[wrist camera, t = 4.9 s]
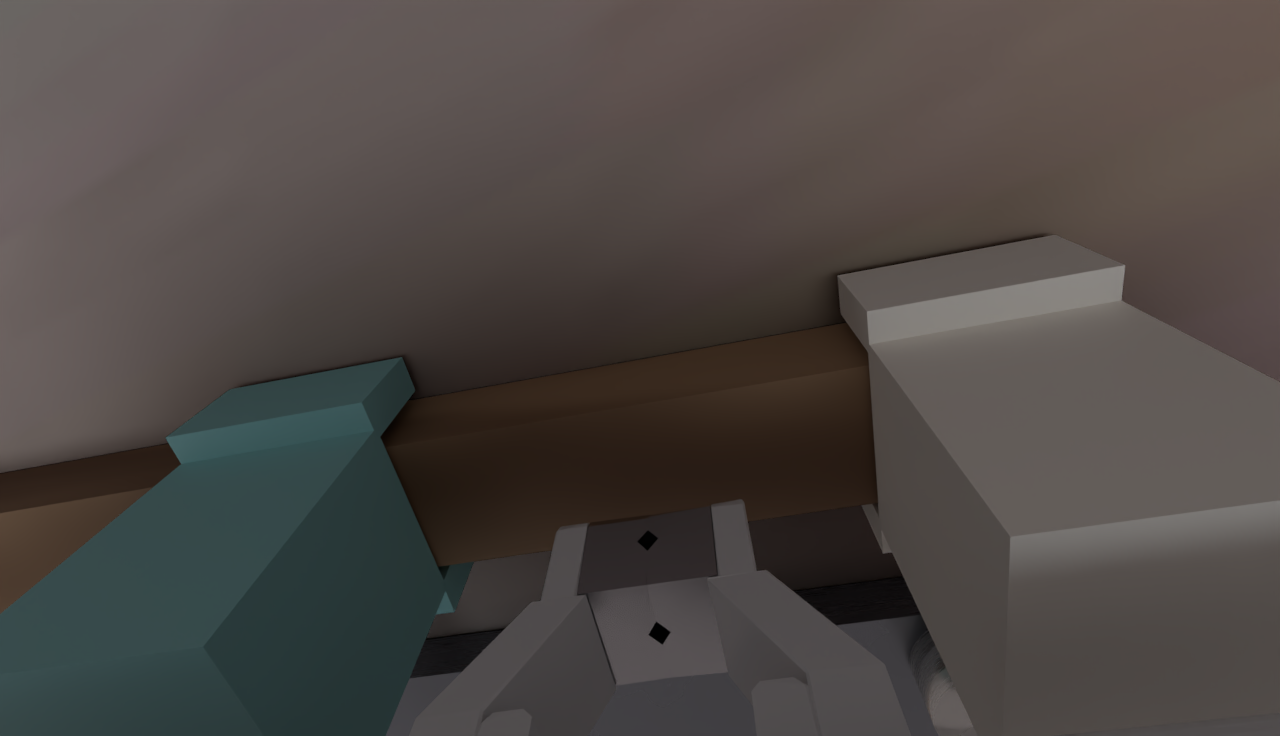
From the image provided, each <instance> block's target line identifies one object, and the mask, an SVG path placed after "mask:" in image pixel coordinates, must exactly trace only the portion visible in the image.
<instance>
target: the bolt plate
mask: <svg viewBox="0 0 1280 736" xmlns="http://www.w3.org/2000/svg"><path fill="white" fill-rule="evenodd" d="M794 592H795V593H796V594H797V595H799V596H800V597H801V598H802V599H804V600H805V601H806V602H807V603H809V604H810V605H811V606H812V607H814V608H815V609H816V610H817V611H819V612H820V613H821V614H822V615H824V616H825V617H826V618H827V619H829V620H830V621H831V622H832V623H834V624H835V625H836V626H837V627H839V628H840V629H841V630H842V631H844V632H845V633H846V634H847V635H849V636H850V637H851V638H853V639H854V640H855V641H856V642H858V643H859V644H860V645H861V646H863V647H864V648H865V649H866V650H868V651H869V652H870V653H871V654H873V655H874V656H875V657H876V658H878V659H879V660H880V661H881V662H883V663H884V664H885V666H886V669H887V672H888V674H889V677H890V680H891V682H892V685H893V688H894V691H895V693H896V696H897V699H898V701H899V704H900V707H901V709H902V712H903V715H904V718H905V720H906V723H907V726H908V728H909V731H910V734H911V736H978V735H977V733H976V731H975V729H974V727H973V725H972V722H971V720H970V718H969V716H968V714H967V712H966V710H965V708H964V705H963V703H962V701H961V699H960V697H959V695H958V693H957V690H956V688H955V686H954V684H953V682H952V680H951V678H950V675H949V673H948V671H947V669H946V667H945V665H944V663H943V660H942V658H941V656H940V654H939V652H938V650H937V648H936V646H935V643H934V641H933V639H932V637H931V635H930V633H929V631H928V628H927V626H926V624H925V622H924V620H923V618H922V616H921V613H920V611H919V609H918V607H917V605H916V603H915V601H914V599H913V596H912V594H911V592H910V590H909V588H908V586H907V584H906V581H905V579H904V577H900V578H893V579H885V580H878V581H870V582H862V583H855V584H847V585H839V586H832V587H824V588H817V589H809V590H801V591H794ZM502 631H503V630H497V631H490V632H482V633H474V634H467V635H459V636H452V637H444V638H436V639H429V640H425V642H424V644H423V647H422V649H421V652H420V654H419V656H418V659H417V661H416V664H415V666H414V668H413V671H412V673H411V676H410V678H409V681H408V683H407V685H406V688H405V690H404V693H403V695H402V697H401V700H400V702H399V705H398V707H397V710H396V712H395V714H394V717H393V719H392V722H391V724H390V726H389V729H388V731H387V734H386V736H409V734H410V732H411V729H412V727H413V724H414V721H415V719H416V718H417V717H418V716H419V715H420V714H421V713H422V712H423V711H424V710H425V708H426V707H427V706H428V705H429V704H430V703H431V702H432V701H433V700H434V699H435V698H436V697H437V696H438V695H439V694H440V693H441V692H442V691H443V690H444V689H445V688H446V687H447V686H448V685H449V684H450V683H451V682H452V681H453V680H454V679H455V678H456V677H457V676H458V675H459V674H460V673H461V672H462V671H463V670H464V669H465V668H466V667H467V666H468V665H469V664H470V663H471V662H472V661H473V660H474V659H475V658H476V657H477V656H478V655H479V654H480V653H481V652H482V651H483V650H484V649H485V648H486V647H487V646H488V645H489V644H490V643H491V642H492V641H493V640H494V639H495V638H496V637H497V636H498V635H499V634H500V633H501V632H502ZM588 736H757V734H756V726H755V718H754V710H753V705H752V704H751V703H750V702H749V700H748V699H747V698H746V696H745V695H744V694H743V693H742V691H741V690H740V689H739V688H738V686H737V685H736V684H735V683H734V681H733V680H732V679H731V678H730V676H729V675H728V672H726V673H715V674H704V675H693V676H682V677H671V678H664V679H657V680H651V681H644V682H637V683H631V684H624V685H617V686H616V691H615V692H614V694H613V696H612V697H611V699H610V701H609V702H608V704H607V705H606V707H605V709H604V710H603V712H602V714H601V715H600V717H599V719H598V720H597V722H596V724H595V725H594V727H593V728H592V730H591V732H590V733H589V735H588Z"/></svg>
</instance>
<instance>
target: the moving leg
mask: <svg viewBox="0 0 1280 736" xmlns="http://www.w3.org/2000/svg"><path fill="white" fill-rule="evenodd" d="M414 392H415V388H414V386H413V383H412V381H411V378H410V376H409V373H408V371H407V368H406V366H405V363H404V361H403V358H402V357H400V358H395V359H389V360H384V361H379V362H373V363H368V364H363V365H357V366H352V367H347V368H341V369H336V370H331V371H325V372H320V373H315V374H309V375H304V376H299V377H293V378H288V379H283V380H277V381H272V382H267V383H261V384H256V385H251V386H245V387H240V388H235V389H230V390H228V391H227V392H226V393H224V394H223V395H222V396H220V397H219V398H218V399H216V400H215V401H214V402H212V403H211V404H210V405H208V406H207V407H206V408H204V409H203V410H202V411H200V412H199V413H198V414H196V415H195V416H194V417H192V418H191V419H190V420H188V421H187V422H186V423H184V424H183V425H182V426H180V427H179V428H178V429H176V430H175V431H174V432H172V433H171V434H170V435H168V436H167V437H166V440H167V441H168V443H169V445H170V446H171V448H172V450H173V451H174V453H175V455H176V456H177V458H178V460H179V461H180V463H181V465H179V466H178V467H177V468H176V469H175V470H173V471H172V472H171V473H170V474H168V475H167V476H166V477H165V478H164V479H162V480H161V481H160V482H159V483H158V484H156V485H155V486H154V487H153V488H152V489H150V490H149V491H148V492H147V493H146V494H144V495H143V496H142V497H141V498H140V499H138V500H137V501H136V502H135V503H133V504H132V505H131V506H130V507H129V508H127V509H126V510H125V511H124V512H123V513H121V514H120V515H119V516H118V517H117V518H115V519H114V520H113V521H112V522H111V523H109V524H108V525H107V526H106V527H105V528H103V529H102V530H101V531H100V532H98V533H97V534H96V535H95V536H94V537H92V538H91V539H90V540H89V541H88V542H86V543H85V544H84V545H83V546H82V547H80V548H79V549H78V550H77V551H76V552H74V553H73V554H72V555H71V556H70V557H68V558H67V559H66V560H65V561H64V562H62V563H61V564H60V565H59V566H57V567H56V568H55V569H54V570H53V571H51V572H50V573H49V574H48V575H47V576H45V577H44V578H43V579H42V580H41V581H39V582H38V583H37V584H36V585H35V586H33V587H32V588H31V589H30V590H29V591H27V592H26V593H25V594H24V595H22V596H21V597H20V598H19V599H18V600H16V601H15V602H14V603H13V604H12V605H10V606H9V607H8V608H7V609H6V610H4V611H3V612H2V613H1V614H0V736H386V734H387V731H388V729H389V726H390V724H391V722H392V719H393V717H394V714H395V712H396V710H397V707H398V705H399V702H400V700H401V697H402V695H403V693H404V690H405V688H406V685H407V683H408V681H409V678H410V676H411V673H412V671H413V668H414V666H415V664H416V661H417V659H418V656H419V654H420V652H421V649H422V647H423V644H424V642H425V639H426V637H427V635H428V632H429V630H430V627H431V625H432V623H433V620H434V618H435V615H436V614H443V613H451V612H455V610H456V607H457V605H458V602H459V599H460V597H461V594H462V592H463V589H464V586H465V584H466V581H467V578H468V576H469V573H470V571H471V568H472V565H473V563H474V562H468V563H461V564H454V565H447V566H440V567H438V566H437V564H436V562H435V560H434V557H433V555H432V553H431V551H430V548H429V546H428V544H427V541H426V539H425V537H424V535H423V532H422V530H421V528H420V526H419V523H418V521H417V519H416V517H415V514H414V512H413V510H412V507H411V505H410V503H409V501H408V498H407V496H406V494H405V492H404V489H403V487H402V485H401V483H400V480H399V478H398V476H397V474H396V471H395V469H394V467H393V464H392V462H391V460H390V458H389V455H388V453H387V451H386V449H385V446H384V444H383V442H382V440H381V437H380V436H381V435H382V434H383V432H384V431H385V430H386V428H387V427H388V426H389V425H390V423H391V422H392V421H393V419H394V418H395V417H396V415H397V414H398V413H399V411H400V410H401V409H402V407H403V406H404V405H405V404H406V402H407V401H408V400H409V398H410V397H411V396H412V394H413V393H414Z"/></svg>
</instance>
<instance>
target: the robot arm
mask: <svg viewBox="0 0 1280 736" xmlns="http://www.w3.org/2000/svg"><path fill="white" fill-rule="evenodd" d="M726 672H728V675H729V676H730V678H731V679H732V680H733V681H734V683H735V684H736V685H737V686H738V688H739V689H740V690H741V691H742V693H743V694H744V695H745V696H746V698H747V699H748V700H749V702H750V703H751V704H752V705H753V710H754V718H755V726H756V734H757V736H911V734H910V731H909V728H908V726H907V723H906V720H905V718H904V715H903V712H902V709H901V707H900V704H899V701H898V699H897V696H896V693H895V691H894V688H893V685H892V682H891V680H890V677H889V674H888V672H887V669H886V666H885V664H884V663H883V662H881V661H880V660H879V659H878V658H876V657H875V656H874V655H873V654H871V653H870V652H869V651H868V650H866V649H865V648H864V647H863V646H861V645H860V644H859V643H858V642H856V641H855V640H854V639H853V638H851V637H850V636H849V635H847V634H846V633H845V632H844V631H842V630H841V629H840V628H839V627H837V626H836V625H835V624H834V623H832V622H831V621H830V620H829V619H827V618H826V617H825V616H824V615H822V614H821V613H820V612H819V611H817V610H816V609H815V608H814V607H812V606H811V605H810V604H809V603H807V602H806V601H805V600H804V599H802V598H801V597H800V596H799V595H797V594H796V593H795V592H794V591H792V590H791V589H790V588H789V587H787V586H786V585H785V584H784V583H782V582H781V581H780V580H779V579H777V578H776V577H775V576H774V575H772V574H771V573H770V572H769V571H767V570H761V571H757V569H756V563H755V558H754V553H753V547H752V542H751V536H750V531H749V526H748V520H747V515H746V510H745V504H744V502H743V500H742V499H739V500H734V501H728V502H723V503H717V504H712V505H711V506H706V507H700V508H693V509H687V510H680V511H674V512H667V513H661V514H654V515H644V516H636V517H628V518H620V519H612V520H605V521H597V522H591V523H583V524H576V525H569V526H562V527H560V528H559V529H558V531H557V532H556V535H555V539H554V543H553V548H552V552H551V556H550V561H549V565H548V569H547V574H546V578H545V582H544V587H543V591H542V595H541V599H540V601H536V602H531V603H530V604H529V605H528V606H527V607H526V608H525V609H524V610H523V611H522V612H521V613H520V614H519V615H518V616H517V617H516V618H515V619H514V620H513V621H512V622H511V623H510V624H509V625H508V626H507V627H506V628H505V629H504V630H503V631H502V632H501V633H500V634H499V635H498V636H497V637H496V638H495V639H494V640H493V641H492V642H491V643H490V644H489V645H488V646H487V647H486V648H485V649H484V650H483V651H482V652H481V653H480V654H479V655H478V656H477V657H476V658H475V659H474V660H473V661H472V662H471V663H470V664H469V665H468V666H467V667H466V668H465V669H464V670H463V671H462V672H461V673H460V674H459V675H458V676H457V677H456V678H455V679H454V680H453V681H452V682H451V683H450V684H449V685H448V686H447V687H446V688H445V689H444V690H443V691H442V692H441V693H440V694H439V695H438V696H437V697H436V698H435V699H434V700H433V701H432V702H431V703H430V704H429V705H428V706H427V707H426V708H425V710H424V711H423V712H422V713H421V714H420V715H419V716H418V717H417V718H416V719H415V721H414V724H413V727H412V729H411V732H410V734H409V736H588V735H589V733H590V732H591V730H592V728H593V727H594V725H595V724H596V722H597V720H598V719H599V717H600V715H601V714H602V712H603V710H604V709H605V707H606V705H607V704H608V702H609V701H610V699H611V697H612V696H613V694H614V692H615V691H616V686H617V685H624V684H631V683H637V682H644V681H651V680H657V679H664V678H671V677H682V676H693V675H704V674H715V673H726ZM1055 736H1280V713H1270V714H1260V715H1251V716H1241V717H1231V718H1221V719H1212V720H1202V721H1192V722H1182V723H1172V724H1163V725H1153V726H1143V727H1133V728H1124V729H1114V730H1104V731H1094V732H1084V733H1075V734H1065V735H1055Z"/></svg>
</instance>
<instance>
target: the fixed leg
mask: <svg viewBox="0 0 1280 736" xmlns="http://www.w3.org/2000/svg"><path fill="white" fill-rule="evenodd" d="M1124 272H1125V265H1124V264H1122V263H1119V262H1117V261H1115V260H1113V259H1110V258H1108V257H1106V256H1103V255H1101V254H1099V253H1096V252H1094V251H1092V250H1090V249H1087V248H1085V247H1083V246H1080V245H1078V244H1076V243H1073V242H1071V241H1069V240H1067V239H1064V238H1062V237H1060V236H1057V235H1051V236H1046V237H1041V238H1035V239H1030V240H1024V241H1019V242H1014V243H1008V244H1003V245H998V246H992V247H987V248H982V249H976V250H971V251H966V252H960V253H955V254H950V255H944V256H939V257H934V258H928V259H923V260H918V261H912V262H907V263H902V264H896V265H891V266H886V267H880V268H875V269H870V270H864V271H859V272H854V273H848V274H843V275H838V276H837V278H838V289H839V301H840V313H841V315H842V316H843V318H844V319H845V321H846V322H847V324H848V325H849V326H850V328H851V329H852V331H853V332H854V333H855V335H856V336H857V338H858V339H859V340H860V342H861V343H862V345H863V346H864V347H865V349H866V350H867V352H868V358H869V373H870V388H871V403H872V418H873V432H874V447H875V462H876V477H877V492H878V503H874V504H867V505H861V506H862V508H863V510H864V512H865V515H866V517H867V519H868V521H869V524H870V526H871V528H872V530H873V532H874V535H875V537H876V539H877V541H878V544H879V546H880V548H881V550H882V553H883V554H884V553H892V554H893V556H894V558H895V560H896V562H897V564H898V566H899V569H900V571H901V573H902V575H903V577H904V579H905V581H906V584H907V586H908V588H909V590H910V592H911V594H912V596H913V599H914V601H915V603H916V605H917V607H918V609H919V611H920V613H921V616H922V618H923V620H924V622H925V624H926V626H927V628H928V631H929V633H930V635H931V637H932V639H933V641H934V643H935V646H936V648H937V650H938V652H939V654H940V656H941V658H942V660H943V663H944V665H945V667H946V669H947V671H948V673H949V675H950V678H951V680H952V682H953V684H954V686H955V688H956V690H957V693H958V695H959V697H960V699H961V701H962V703H963V705H964V708H965V710H966V712H967V714H968V716H969V718H970V720H971V722H972V725H973V727H974V729H975V731H976V733H977V735H978V736H1055V735H1065V734H1075V733H1084V732H1094V731H1104V730H1114V729H1124V728H1133V727H1143V726H1153V725H1163V724H1172V723H1182V722H1192V721H1202V720H1212V719H1221V718H1231V717H1241V716H1251V715H1260V714H1270V713H1280V382H1279V381H1277V380H1275V379H1273V378H1271V377H1269V376H1267V375H1265V374H1263V373H1261V372H1259V371H1257V370H1255V369H1253V368H1251V367H1250V366H1248V365H1246V364H1244V363H1242V362H1240V361H1238V360H1236V359H1234V358H1232V357H1230V356H1228V355H1226V354H1224V353H1222V352H1220V351H1218V350H1217V349H1215V348H1213V347H1211V346H1209V345H1207V344H1205V343H1203V342H1201V341H1199V340H1197V339H1195V338H1193V337H1191V336H1189V335H1187V334H1186V333H1184V332H1182V331H1180V330H1178V329H1176V328H1174V327H1172V326H1170V325H1168V324H1166V323H1164V322H1162V321H1160V320H1158V319H1156V318H1155V317H1153V316H1151V315H1149V314H1147V313H1145V312H1143V311H1141V310H1139V309H1137V308H1135V307H1133V306H1131V305H1129V304H1127V303H1125V302H1123V301H1122V290H1123V281H1124Z"/></svg>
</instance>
